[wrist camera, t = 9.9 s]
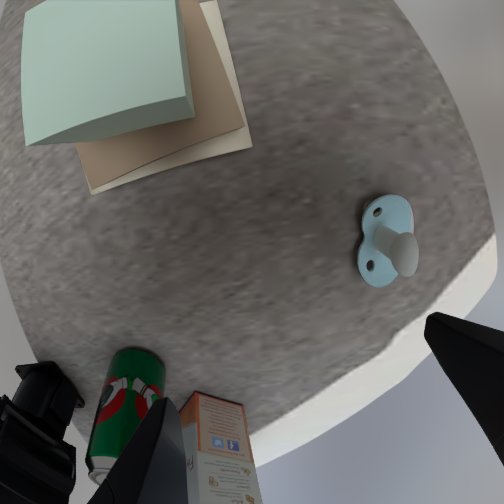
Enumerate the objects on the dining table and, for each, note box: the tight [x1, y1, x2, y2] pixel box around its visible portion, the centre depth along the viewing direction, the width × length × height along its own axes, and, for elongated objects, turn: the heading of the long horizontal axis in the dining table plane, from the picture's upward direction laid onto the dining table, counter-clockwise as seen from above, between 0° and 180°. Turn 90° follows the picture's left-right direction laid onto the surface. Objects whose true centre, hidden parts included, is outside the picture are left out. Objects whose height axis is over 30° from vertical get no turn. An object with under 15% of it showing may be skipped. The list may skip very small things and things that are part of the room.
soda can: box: [85, 350, 166, 486], centre depth 17 cm, size 5×5×12 cm
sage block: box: [21, 0, 195, 146], centre depth 8 cm, size 5×5×6 cm
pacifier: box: [357, 194, 419, 287], centre depth 19 cm, size 7×6×6 cm
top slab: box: [74, 0, 245, 190], centre depth 12 cm, size 8×8×3 cm
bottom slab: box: [84, 1, 253, 196], centre depth 15 cm, size 10×10×3 cm
